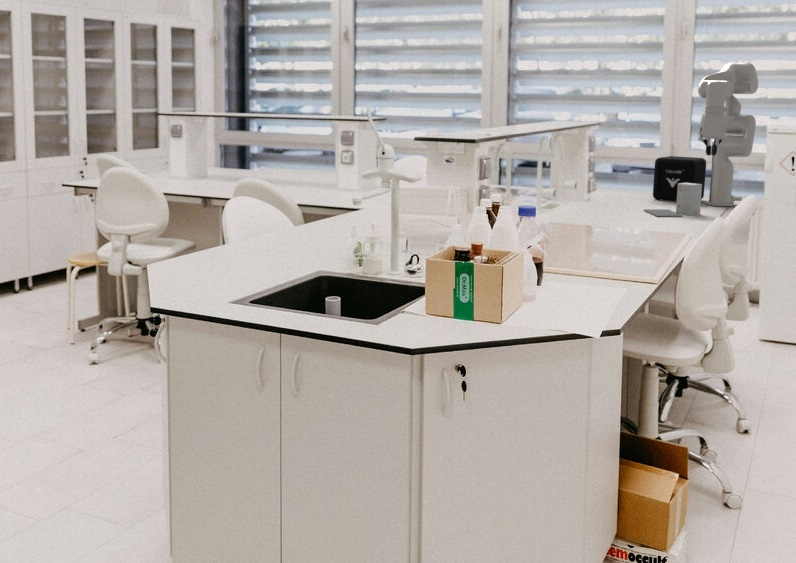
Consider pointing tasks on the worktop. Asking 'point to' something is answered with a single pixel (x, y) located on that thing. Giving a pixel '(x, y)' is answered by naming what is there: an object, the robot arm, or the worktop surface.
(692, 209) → the small box
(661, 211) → the rubber mat
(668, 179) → the air purifier
